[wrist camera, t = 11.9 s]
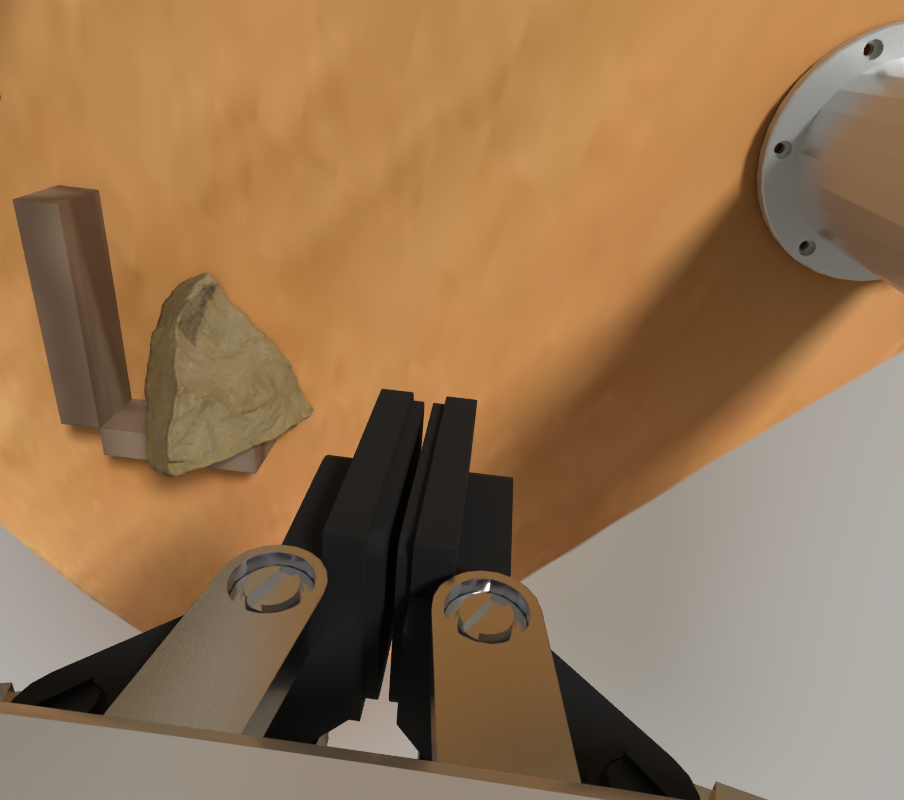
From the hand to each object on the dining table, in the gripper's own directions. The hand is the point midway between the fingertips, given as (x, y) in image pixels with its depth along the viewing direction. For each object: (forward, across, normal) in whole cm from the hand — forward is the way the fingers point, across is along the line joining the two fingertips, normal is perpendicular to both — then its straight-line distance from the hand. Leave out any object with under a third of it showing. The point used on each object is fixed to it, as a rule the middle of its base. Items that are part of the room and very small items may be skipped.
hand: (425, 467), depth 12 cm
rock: (+29, +15, +12) cm, 35 cm away
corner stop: (+29, +19, +11) cm, 37 cm away
